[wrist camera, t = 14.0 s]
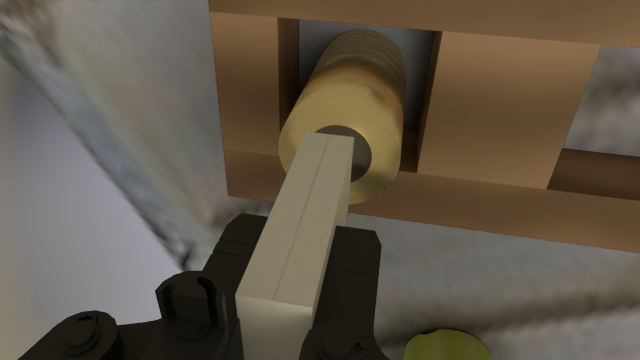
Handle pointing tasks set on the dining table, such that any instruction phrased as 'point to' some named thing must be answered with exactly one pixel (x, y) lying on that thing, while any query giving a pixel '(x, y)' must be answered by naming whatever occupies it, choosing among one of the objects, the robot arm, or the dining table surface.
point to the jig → (451, 112)
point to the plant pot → (445, 347)
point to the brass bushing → (355, 108)
